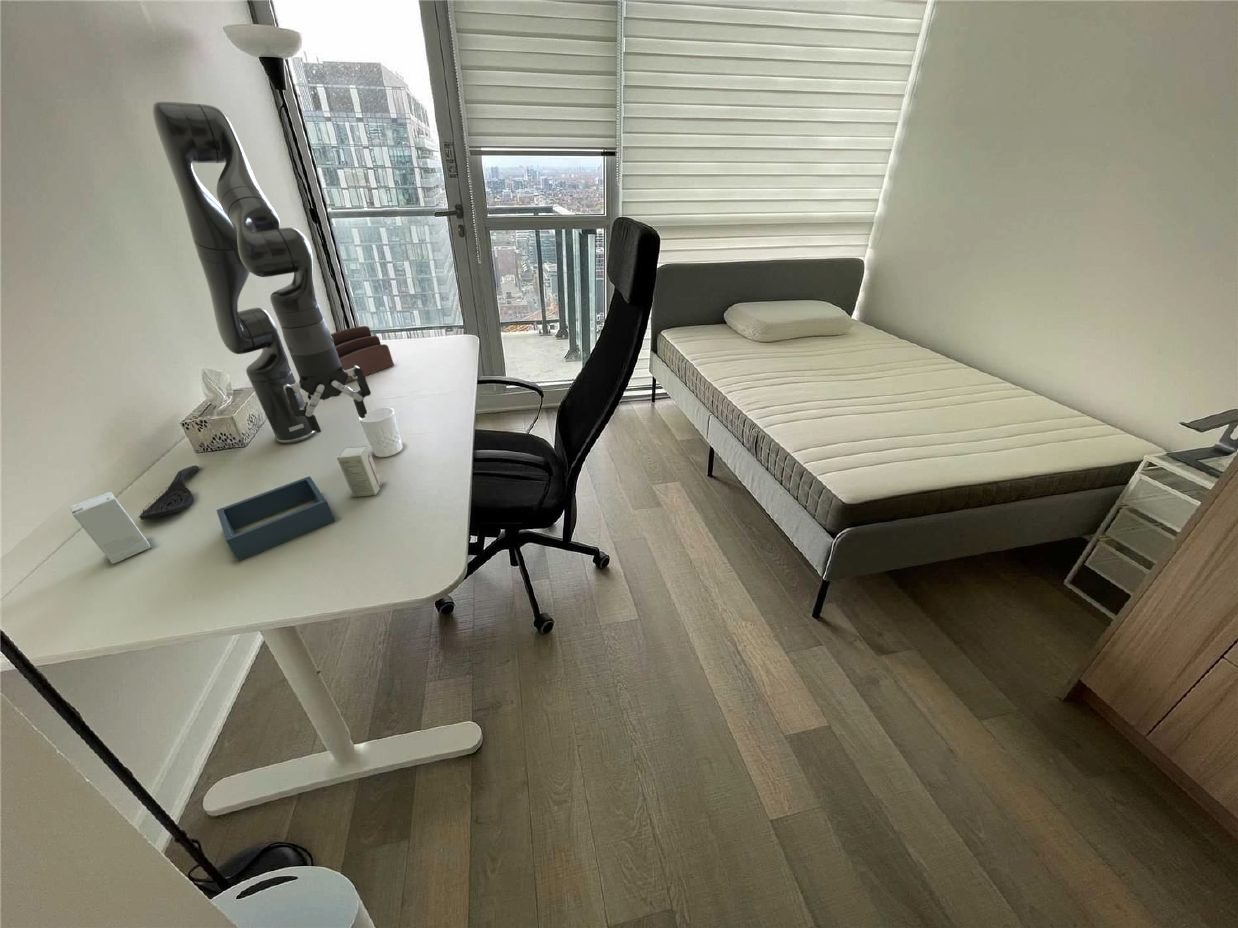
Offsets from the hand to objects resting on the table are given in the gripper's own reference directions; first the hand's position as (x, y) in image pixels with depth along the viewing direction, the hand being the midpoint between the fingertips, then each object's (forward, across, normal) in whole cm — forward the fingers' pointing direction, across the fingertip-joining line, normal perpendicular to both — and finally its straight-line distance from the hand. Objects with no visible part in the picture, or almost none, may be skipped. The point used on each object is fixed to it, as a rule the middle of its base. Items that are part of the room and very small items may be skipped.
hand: (340, 423), depth 104 cm
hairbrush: (+17, +32, -29) cm, 47 cm away
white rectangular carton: (+17, 0, 0) cm, 17 cm away
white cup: (+17, -10, -14) cm, 24 cm away
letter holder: (+17, -23, -78) cm, 83 cm away
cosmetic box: (+17, +41, -11) cm, 46 cm away
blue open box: (+16, +17, +1) cm, 24 cm away
